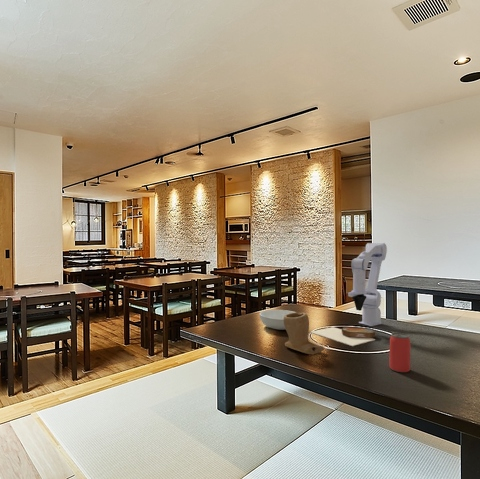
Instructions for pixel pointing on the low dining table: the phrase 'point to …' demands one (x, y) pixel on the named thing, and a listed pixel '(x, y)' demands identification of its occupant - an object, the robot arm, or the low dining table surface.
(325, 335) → the mat
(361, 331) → the tin
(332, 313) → the low dining table surface
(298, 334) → the tan boot-shaped piece
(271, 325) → the serving bowl
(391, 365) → the beer can
